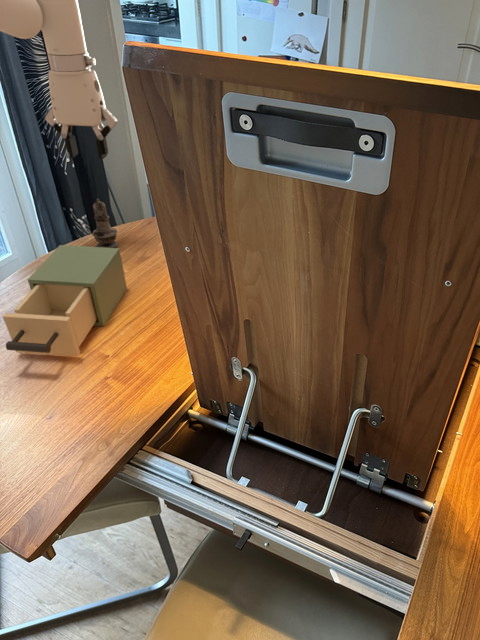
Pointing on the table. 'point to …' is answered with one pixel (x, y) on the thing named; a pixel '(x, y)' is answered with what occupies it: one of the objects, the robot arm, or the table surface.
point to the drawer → (51, 320)
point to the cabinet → (86, 275)
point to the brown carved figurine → (103, 227)
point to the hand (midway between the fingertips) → (88, 155)
